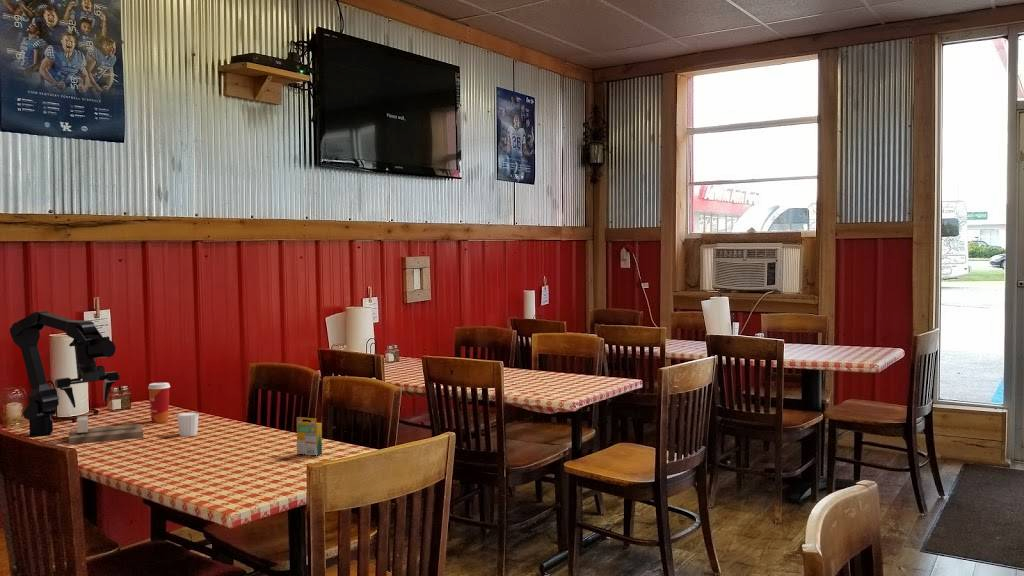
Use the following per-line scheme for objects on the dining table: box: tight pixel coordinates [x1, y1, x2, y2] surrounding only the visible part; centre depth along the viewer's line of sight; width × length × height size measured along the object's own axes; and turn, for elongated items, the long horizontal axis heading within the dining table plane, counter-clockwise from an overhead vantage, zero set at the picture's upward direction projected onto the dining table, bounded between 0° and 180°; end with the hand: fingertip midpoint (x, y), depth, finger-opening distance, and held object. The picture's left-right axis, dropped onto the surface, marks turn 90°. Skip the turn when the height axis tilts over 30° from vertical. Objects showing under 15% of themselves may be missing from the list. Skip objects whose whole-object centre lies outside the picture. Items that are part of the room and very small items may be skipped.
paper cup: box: [147, 382, 171, 424], centre depth 301 cm, size 8×8×14 cm
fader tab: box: [76, 415, 89, 433], centre depth 272 cm, size 3×6×5 cm, turn 27°
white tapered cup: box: [176, 412, 200, 437], centre depth 279 cm, size 7×7×7 cm
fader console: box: [68, 423, 144, 445], centre depth 276 cm, size 22×14×2 cm, turn 117°
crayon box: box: [296, 416, 323, 457], centre depth 250 cm, size 7×3×12 cm, turn 70°
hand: (89, 405), depth 273 cm, fingers open, 9 cm apart
